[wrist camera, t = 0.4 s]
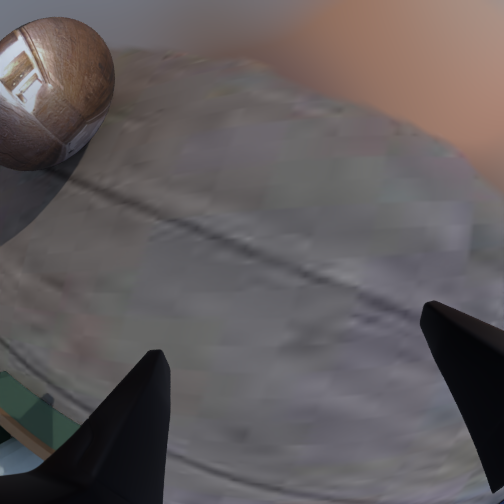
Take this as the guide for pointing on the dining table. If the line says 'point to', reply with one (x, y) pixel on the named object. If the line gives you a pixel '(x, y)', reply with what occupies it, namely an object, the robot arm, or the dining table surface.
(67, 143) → the wooden sphere
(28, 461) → the storage jar
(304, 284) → the dining table surface
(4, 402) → the cubby cabinet
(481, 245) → the dining table surface
